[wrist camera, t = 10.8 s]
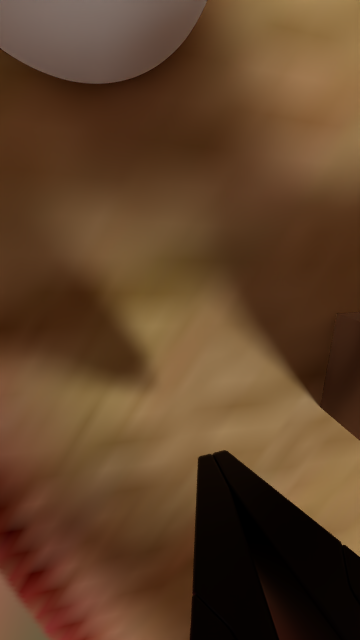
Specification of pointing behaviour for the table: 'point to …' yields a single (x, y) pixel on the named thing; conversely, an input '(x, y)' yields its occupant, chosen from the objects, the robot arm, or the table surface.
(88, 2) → the can
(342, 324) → the walnut slat
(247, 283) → the table surface
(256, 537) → the robot arm
